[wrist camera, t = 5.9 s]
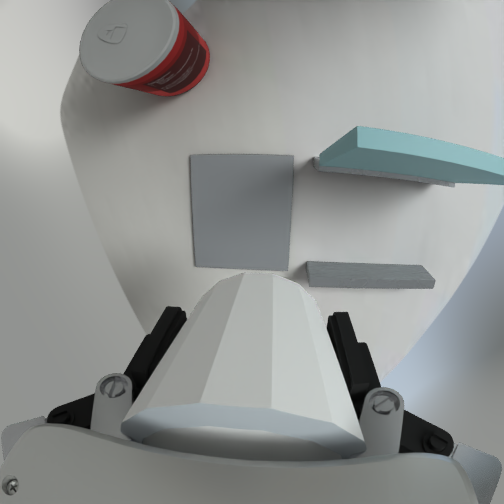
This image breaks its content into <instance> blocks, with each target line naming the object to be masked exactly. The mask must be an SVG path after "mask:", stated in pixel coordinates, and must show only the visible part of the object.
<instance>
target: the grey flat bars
mask: <svg viewBox="0 0 504 504" xmlns="http://www.w3.org/2000/svg"><path fill="white" fill-rule="evenodd" d="M319 160H320V157H314V166H313V167H314V168H315V169H317V170H318V171H320V172H334V173H346V174H357V175H367V176H377V177H386V178H394V179H402V180H409V181H417V182H423V183H430V184H436V185H443V186H448V187H455V183H454V182H448V181H443V180H437V179H431V178H424V177H418V176H411V175H404V174H396V173H389V172H380V171H371V170H362V169H352V168H341V167H328V166H319ZM306 272H307V277H308V282H309V287H336V288H397V289H433V287H434V284H435V279H434V278H433V277H432V276H431V275H430V274H429V273H428V272H427V270H426V269H425V268H424V267H423V266H422V265H395V264H366V263H339V262H314V261H307V266H306Z"/></svg>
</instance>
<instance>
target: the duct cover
mask: <svg viewBox="0 0 504 504" xmlns="http://www.w3.org/2000/svg"><path fill="white" fill-rule="evenodd" d="M319 166H328V167H341V168H352V169H362V170H371V171H380V172H389V173H396V174H404V175H411V176H418V177H424V178H431V179H437V180H443V181H448V182H454V183H473V184H494V185H504V158H502V157H499V156H495V155H492V154H489V153H486V152H482V151H479V150H475V149H472V148H468V147H465V146H461V145H457V144H453V143H449V142H445V141H440V140H436V139H432V138H427V137H422V136H417V135H412V134H407V133H401V132H395V131H389V130H383V129H376V128H369V127H362V126H357V127H355V128H354V129H353V130H351V131H350V132H349V133H347V134H346V135H345V136H343V137H342V138H340V139H339V140H338V141H336V142H335V143H334V144H333V145H331V146H330V147H329V148H327V149H326V150H325V151H323V152H322V153H321V154H320V160H319Z"/></svg>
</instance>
